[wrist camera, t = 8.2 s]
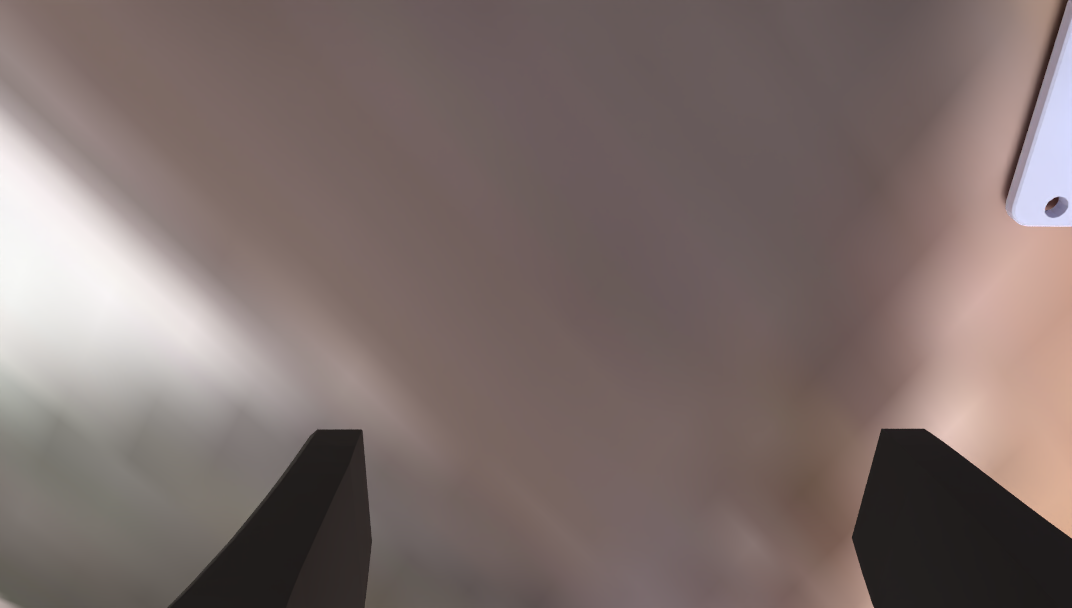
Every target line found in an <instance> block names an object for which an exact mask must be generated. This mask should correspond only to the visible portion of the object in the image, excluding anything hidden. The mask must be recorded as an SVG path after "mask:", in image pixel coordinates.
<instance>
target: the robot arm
mask: <svg viewBox="0 0 1072 608" xmlns="http://www.w3.org/2000/svg"><path fill="white" fill-rule="evenodd" d="M1055 197H1059V201H1058V202H1057V204H1056V206H1054V207H1053V208H1052V209H1050V210H1047V211H1045V207H1046V205H1047V203H1048V202H1049V201H1050V200H1052V199H1053V198H1055ZM1005 209H1006V211H1007V214H1008V215H1009V216H1010V217H1011V218H1012V219H1013V220H1015V221H1016V222H1017V223H1018V224H1020V225H1024V226H1053V227H1072V0H1068V2H1067V6H1066V9H1065V12H1064V15H1063V19H1062V22H1061V25H1060V28H1059V32H1058V35H1057V38H1056V41H1055V44H1054V48H1053V51H1052V54H1051V57H1050V61H1049V64H1048V67H1047V70H1046V74H1045V77H1044V80H1043V83H1042V87H1041V90H1040V93H1039V96H1038V100H1037V103H1036V106H1035V109H1034V112H1033V116H1032V119H1031V122H1030V125H1029V129H1028V132H1027V135H1026V138H1025V142H1024V145H1023V148H1022V151H1021V155H1020V158H1019V161H1018V164H1017V168H1016V171H1015V174H1014V177H1013V181H1012V184H1011V187H1010V190H1009V193H1008V197H1007V200H1006V208H1005ZM852 540H853V543H854V546H855V550H856V553H857V557H858V560H859V563H860V567H861V570H862V573H863V577H864V580H865V583H866V586H867V589H868V592H869V595H870V598H871V601H872V604H873V606H874V608H1072V538H1070V537H1069V536H1068V535H1066V534H1065V533H1063V532H1062V531H1061V530H1059V529H1058V528H1056V527H1055V526H1054V525H1052V524H1051V523H1050V522H1048V521H1047V520H1046V519H1044V518H1043V517H1042V516H1040V515H1039V514H1038V513H1036V512H1035V511H1034V510H1032V509H1031V508H1030V507H1028V506H1027V505H1026V504H1024V503H1023V502H1022V501H1020V500H1019V499H1018V498H1016V497H1015V496H1014V495H1012V494H1011V493H1010V492H1008V491H1007V490H1006V489H1005V488H1003V487H1002V486H1001V485H999V484H998V483H997V482H995V481H994V480H993V479H992V478H990V477H989V476H988V475H986V474H985V473H984V472H982V471H981V470H980V469H979V468H977V467H976V466H975V465H973V464H972V463H971V462H969V461H968V460H967V459H965V458H964V457H963V456H961V455H960V454H959V453H958V452H956V451H955V450H954V449H952V448H951V447H950V446H948V445H947V444H945V443H944V442H943V441H941V440H940V439H939V438H937V437H936V436H934V435H933V434H931V433H930V432H928V431H927V430H925V429H881V432H880V436H879V440H878V444H877V447H876V451H875V455H874V458H873V462H872V466H871V469H870V473H869V477H868V480H867V484H866V488H865V491H864V495H863V499H862V503H861V506H860V510H859V514H858V517H857V521H856V525H855V528H854V532H853V536H852ZM371 544H372V537H371V526H370V514H369V502H368V491H367V479H366V467H365V455H364V444H363V432H362V430H316V431H315V432H314V433H313V434H312V435H311V436H310V437H309V438H308V440H307V441H306V443H305V444H304V445H303V447H302V448H301V450H300V451H299V453H298V454H297V455H296V457H295V458H294V460H293V461H292V462H291V464H290V465H289V467H288V468H287V469H286V471H285V472H284V473H283V475H282V476H281V478H280V479H279V480H278V481H277V483H276V484H275V485H274V487H273V488H272V489H271V491H270V492H269V493H268V495H267V496H266V497H265V499H264V500H263V501H262V502H261V503H260V505H259V506H258V507H257V508H256V510H255V511H254V512H253V513H252V514H251V516H250V517H249V518H248V519H247V521H246V522H245V523H244V524H243V526H242V527H241V528H240V529H239V530H238V532H237V533H236V534H235V535H234V536H233V538H232V539H231V540H230V541H229V542H228V543H227V545H226V546H225V547H224V548H223V549H222V550H221V551H220V552H219V553H218V555H217V556H216V557H215V558H214V559H213V560H212V561H211V562H210V563H209V564H208V565H207V567H206V568H205V569H204V570H203V571H202V572H201V573H200V574H199V575H198V576H197V578H196V579H195V580H194V581H193V582H192V583H191V584H190V585H189V586H188V587H187V588H186V589H185V590H184V591H183V592H182V593H181V594H180V595H179V596H178V597H177V598H176V600H175V601H174V602H173V603H172V604H171V605H170V606H169V607H168V608H364V607H365V598H366V590H367V581H368V572H369V563H370V554H371Z"/></svg>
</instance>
